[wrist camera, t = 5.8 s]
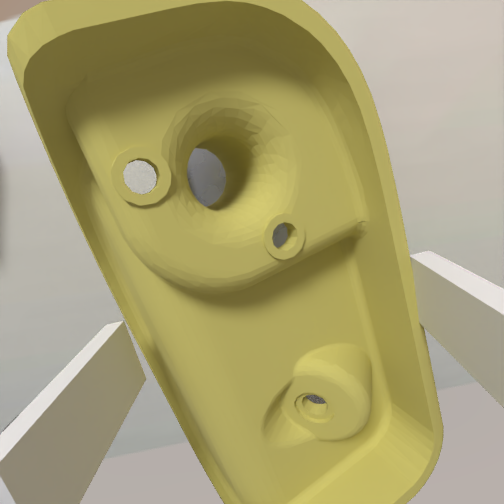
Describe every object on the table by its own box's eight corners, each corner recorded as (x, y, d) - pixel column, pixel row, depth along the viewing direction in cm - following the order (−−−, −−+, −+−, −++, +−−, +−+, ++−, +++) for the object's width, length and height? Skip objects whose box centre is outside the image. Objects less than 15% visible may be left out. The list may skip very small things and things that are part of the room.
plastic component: (450, 463, 15) (263, 632, 12) (344, 380, 22) (206, 475, 19) (349, -53, 9) (-83, 19, 6) (244, 51, 16) (16, 111, 13)
